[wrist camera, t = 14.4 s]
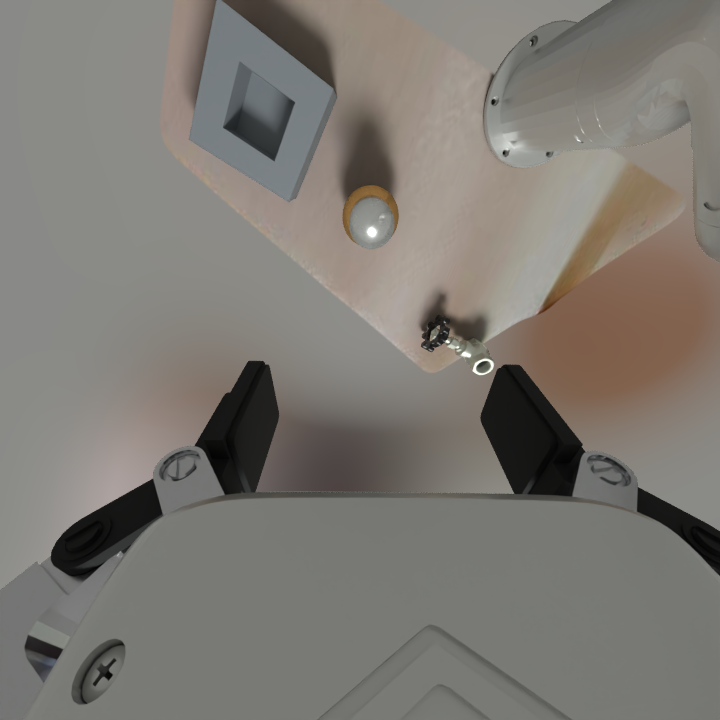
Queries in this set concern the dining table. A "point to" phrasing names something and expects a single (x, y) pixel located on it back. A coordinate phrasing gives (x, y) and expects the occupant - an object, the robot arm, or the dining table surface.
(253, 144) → the housing
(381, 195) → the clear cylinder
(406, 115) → the dining table surface
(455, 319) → the dining table surface
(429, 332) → the valve
